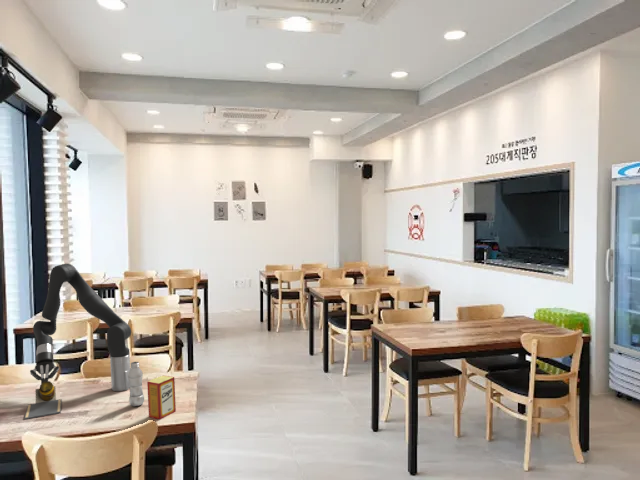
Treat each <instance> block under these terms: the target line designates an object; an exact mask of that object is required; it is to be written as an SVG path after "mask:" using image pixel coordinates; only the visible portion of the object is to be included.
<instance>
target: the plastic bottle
mask: <svg viewBox="0 0 640 480" xmlns="http://www.w3.org/2000/svg"><path fill="white" fill-rule="evenodd" d="M130 368H131V370H130V371H129V373H128V379H129V384H130V388H129V399H128V402H129V405H130V406H131V407H138V406H139V407H140V406H141V405H143V404H144V402H145V396H144V391H143V376H144V375H143V373H144V372H143V371H142V369H141V368H140V362H139V361H133V362H130Z"/></svg>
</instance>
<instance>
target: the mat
mask: <svg viewBox="0 0 640 480" xmlns="http://www.w3.org/2000/svg"><path fill="white" fill-rule="evenodd" d="M61 411H62V398H60V399H56V400H52V401H46V402H41V403H36V402H35V403H30V404H27V406H26V411H25V415H24V420H30V419H37V418H40V417H45V416H46V417H47V416H52V415H58V414H61V413H62V412H61Z"/></svg>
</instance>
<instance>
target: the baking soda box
mask: <svg viewBox="0 0 640 480" xmlns="http://www.w3.org/2000/svg"><path fill="white" fill-rule="evenodd" d="M146 383H147V403H148V405H147V406H148V407H147V408H148V418H151V419H155V420H162V419H164V418H167V417H168V416H170V415H171V414H173V413H176V411H177V409H176V386H175V385H176V384H175V383H176V381H175V376H170V375H160V376H158V377H154V378H152V379H150V380H148V381H147V382H146Z"/></svg>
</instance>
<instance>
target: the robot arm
mask: <svg viewBox="0 0 640 480" xmlns="http://www.w3.org/2000/svg"><path fill="white" fill-rule="evenodd" d="M66 282H67V283H68V284H69V285H70V287H72V288H73V289H74V291H75V292H76V297H77V299H78V302H79V304H80V306H81V307H82V308H83V309H84V310H85V311H86V312H87V313H88V314H89V315H91V316H93V317H94V318H96V319H98V320H100V321H102V322H104V323H105V324H106V325H107V326H108V327H109V328H108V329H107V332H106V342H107V351H108V353H109V358H110V359H109V360H110V362H109V363H110V379H111V380H110V381H111V383H110V385H111V391H114V392H123V391H128V390H130V384H129V379H128V373H129V371H130V370H131V357H130V348H129V347H126V340H127V339H129V338H130V337H131V335H132V329H131V327H130V325H129V324H128V323H127V321H125V320H124V319H123V318H121V317H120V316H119V315H118V314H117V313H116V312H115V311H114V310H113V309H112V308H111V307H110V306H109V305H108V304H107V303H106V302H105V301H104V299H103V298H102V297H101V296H100V295H99V294H98V293H97V292H96V291H95V290H94V289H93V288H92V287H91V286H90V285H89V284H88V283H87V281H86V280H85V279H84V278H83V276H82V275H81V273H80V272H79V271H78V269H77V268H76V267H75V266H74V265H73V264H70V263H62V264H58V265H54V267H53V268H52V269H51V270H50V274H49V281H48V287H47V295H46V300H45V303H44V305H43V309H42V311H41V312H42V313H41V317H42V318H43V319H45V320H37V321H36V322H35V323H34V324H33V327H32V330H33V334H34V336H35V339H36V352H35V354H36V357H35V366H34V368H33V369H30V370H29V372H30V373H29V374H30V375H31V376H32V377H34V378H35V380H36V381H41V383H40V385H41V384H42V383H43V382H45V381H49V380H50V379H53V378H54V377H55V375H56V374H57V373H58V372H59V371H60V367H59V366H57V365H55V363H54V355H55V354H54V346H53V345H54V342H53V340H54V339H53V337H52V336H53V335H54V334H55V333H56V331H57V317H58V314H59V311H60V308H61V297H60V294H61V293H60V292H61V289H62V287H63V285H64V283H66ZM46 320H47V321H46Z"/></svg>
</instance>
